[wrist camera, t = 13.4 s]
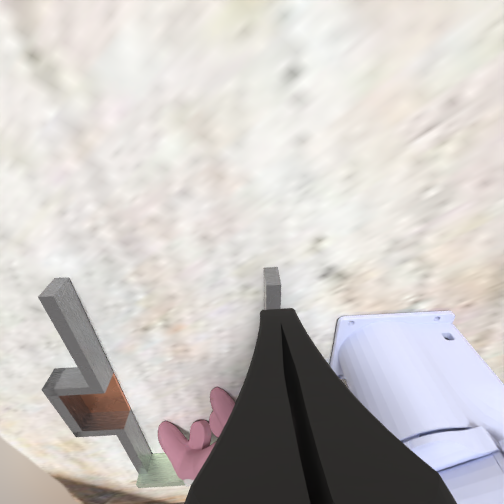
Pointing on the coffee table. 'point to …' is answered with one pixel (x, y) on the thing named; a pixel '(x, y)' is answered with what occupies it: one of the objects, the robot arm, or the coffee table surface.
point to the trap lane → (107, 382)
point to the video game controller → (195, 438)
